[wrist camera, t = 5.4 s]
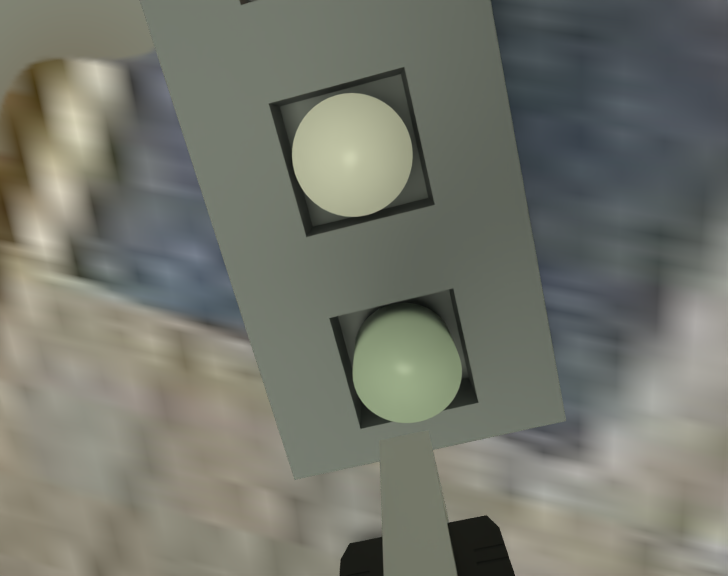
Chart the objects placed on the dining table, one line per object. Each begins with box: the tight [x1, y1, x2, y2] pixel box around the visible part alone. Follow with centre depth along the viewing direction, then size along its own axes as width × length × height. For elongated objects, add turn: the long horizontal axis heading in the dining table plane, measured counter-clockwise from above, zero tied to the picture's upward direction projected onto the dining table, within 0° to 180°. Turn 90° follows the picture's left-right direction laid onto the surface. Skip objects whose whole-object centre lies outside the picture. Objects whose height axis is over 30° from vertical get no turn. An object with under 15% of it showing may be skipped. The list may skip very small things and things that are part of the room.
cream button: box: [292, 93, 413, 217], centre depth 25 cm, size 5×5×3 cm
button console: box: [140, 0, 566, 480], centre depth 28 cm, size 14×30×6 cm, turn 14°
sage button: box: [353, 303, 462, 423], centre depth 28 cm, size 5×5×3 cm
